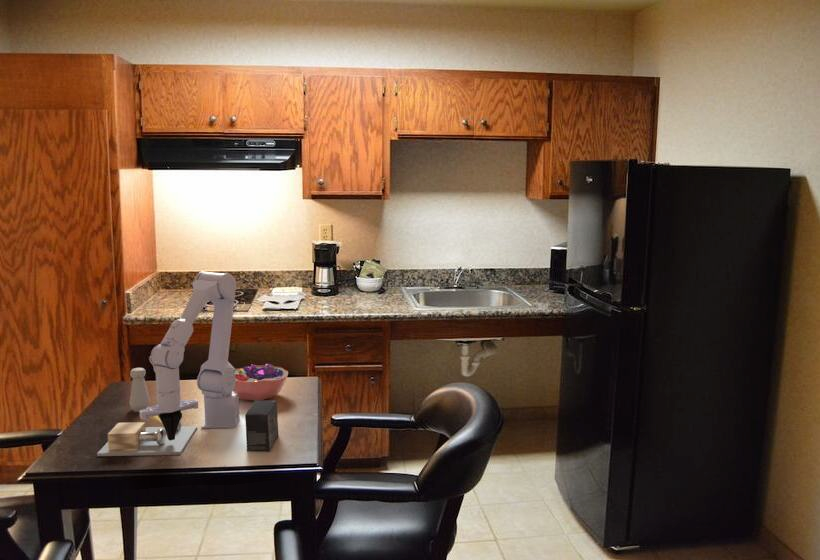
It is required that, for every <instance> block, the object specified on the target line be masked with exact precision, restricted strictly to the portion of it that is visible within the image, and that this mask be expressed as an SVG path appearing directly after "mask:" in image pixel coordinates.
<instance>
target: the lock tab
mask: <svg viewBox="0 0 820 560" xmlns="http://www.w3.org/2000/svg"><path fill="white" fill-rule="evenodd" d="M147 408H150V406H148V407H147ZM147 408H146V409H147ZM149 419H151V420H153V421H154V422H155V423H156V424H158V426H160V427H163V428H164V425H163V423H162V421H161V420H160V418H159V416H158V415H157V416H152V417H149Z"/></svg>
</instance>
